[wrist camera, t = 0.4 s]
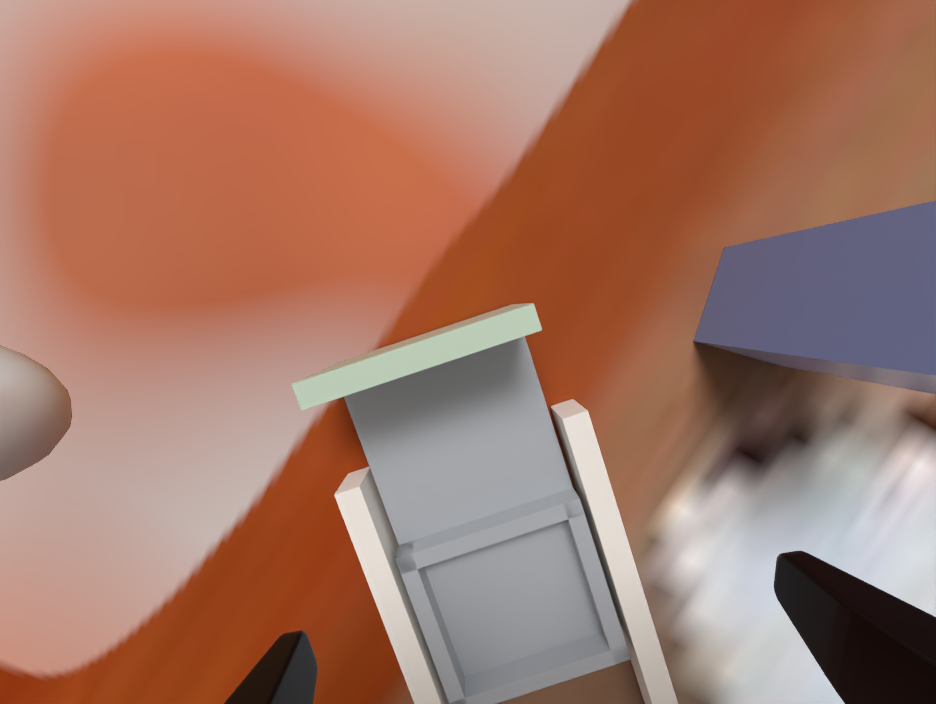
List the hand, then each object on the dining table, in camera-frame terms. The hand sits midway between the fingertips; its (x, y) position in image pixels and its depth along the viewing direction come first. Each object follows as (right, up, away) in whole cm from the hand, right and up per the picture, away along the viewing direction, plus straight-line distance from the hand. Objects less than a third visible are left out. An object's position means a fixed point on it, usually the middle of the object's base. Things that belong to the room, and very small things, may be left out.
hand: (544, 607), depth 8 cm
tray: (-1, -3, +14) cm, 14 cm away
